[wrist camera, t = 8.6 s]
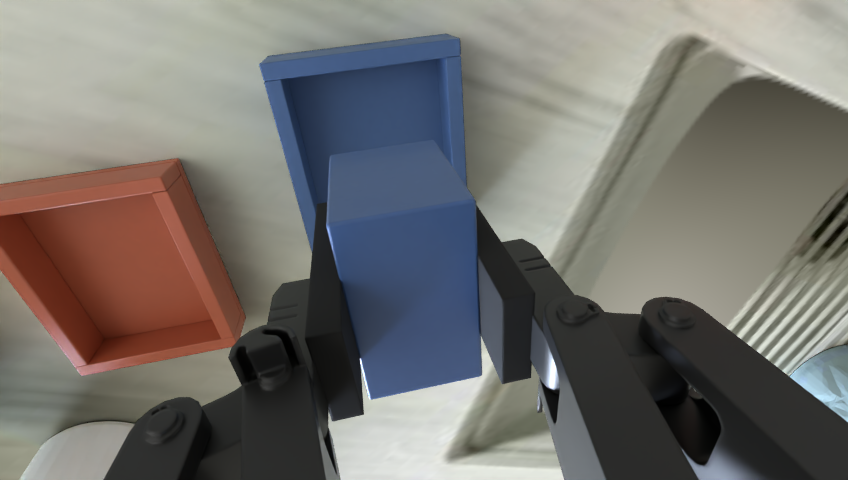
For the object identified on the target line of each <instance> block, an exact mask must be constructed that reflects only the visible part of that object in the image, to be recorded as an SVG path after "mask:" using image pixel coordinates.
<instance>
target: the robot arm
mask: <svg viewBox="0 0 848 480" xmlns="http://www.w3.org/2000/svg"><path fill="white" fill-rule="evenodd" d="M476 220H477V247H478V254H477V255H478V282H479V309H480V334H481V336H482V339H483V341H484V343H485V346H486V348H487V350H488V353H489V355H490V357H491V360H492V362H493V364H494V367H495V369H496V371H497V374H498V376H499V378H500V381H501V383H502V384H505V383H509V382H514V381H518V380H523V379H528V378H531V365H532V364H533V365H534V367H535V369H536V371H537V373H538V375H539V386H538V401H537V411H538V413H540V412H542V408H544V411H545V415H546V418H547V422H548V425H549V428H550V432H551V435H552V439H553V442H554V446H555V449H556V452H557V456H558V459H559V463H560V466H561V470H562V473H563V477H564V480H848V422H847V421H846V420H844V419H843V418H842V417H841V416H839V415H838V414H837V413H835V412H834V411H833V410H832V409H830V408H829V407H828V406H826V405H825V404H824V403H823V402H821V401H820V400H819V399H817V398H816V397H815V396H814V395H812V394H811V393H810V392H808V391H807V390H806V389H804V388H803V387H802V386H801V385H799V384H798V383H797V382H795V381H794V380H793V379H792V378H790V377H789V376H788V375H786V374H785V373H784V372H783V371H781V370H780V369H779V368H777V367H776V366H775V365H774V364H772V363H771V362H770V361H768V360H767V359H766V358H765V357H763V356H762V355H761V354H759V353H758V352H757V351H755V350H754V349H753V348H752V347H750V346H749V345H748V344H746V343H745V342H744V341H743V340H741V339H740V338H739V337H737V336H736V335H735V334H734V333H732V332H731V331H730V330H728V329H727V328H726V327H725V326H723V325H722V324H721V323H719V322H718V321H717V320H715V319H714V318H713V317H712V316H710V315H709V314H708V313H706V312H705V311H704V310H703V309H701V308H699V307H698V306H696V305H694V304H693V303H691V302H688V301H685V300H682V299H679V298H671V297H659V298H653V299H651V300H649V301H647V302H646V303H645V305H644V306H643V308H642V312H641V314H621V313H609V312H604V311H603V310H602V309H601V307H600V306H599V305H598V304H597V303H595V302H593V301H592V300H590V299H588V298H585V297H581V296H578V295H574V294H573V292H572V291H571V290H570V289H569V287H568V286H567V285H566V284H565V282H564V281H563V280H562V279H561V277H560V276H559V275H558V274H557V272H556V271H555V270H554V269H553V267H551V266H550V264H549V262H548V261H547V260H546V259H545V258H544V256H543V255H542V254H541V252H540V251H539V250H538V249H537V247H536V246H534V245H533V244H531V243H529V242H527V241H525V240H524V239H518V240H512V241H507V242H501V241H500V239H499V238H498V237H497V235H496V234H495V232H494V231H493V229H492V228H491V226H490V225H489V223H488V222H487V220H486V219H485V217H484V216H483V214H482V213H481V211H480V210H479V208H478V207H477V205H476ZM326 222H327V202H325V203H319V204H317V207H316V218H315V229H314V240H313V251H312V262H311V273H310V279H305V280H299V281H294V282H288V283H283V284H282V285H281V286H280V287H279V289H278V290H277V291H276V292H275V294H274V295H273V297H272V302H271V306H270V312H269V316H268V322H267V325H264V326H260V327H258V328H256V329H253V330H251V331H249V332H248V333H246V334H245V335H243V336H242V337H241V338H239V339H238V341H237V342H236V343H235V344H234V345H233V347H232V348H231V351H230V354H229V357H228V358H229V360H230V362H231V364H232V366H233V368H234V370H235V372H236V374H237V377H238V379H239V381H240V383H241V385H242V386H240V387H239V388H238V389H236V390H235V391H233V392H231V393H229V394H228V395H226V396H224V397H222V398H219V399H217V400H215V401H213V402H211V403H208V404H206V405H204V406H202V407H201V405H200V404H199V402H198V401H196V400H194V399H192V398H190V397H178V398H174V399H171V400H168V401H164V402H163V403H161V404H159V405H157V406H156V407H154V408H152V409H150V410H149V411H148V412H147V413H146V414H144V415H143V416H142V417H141V418H140V419H139V420H138V421H137V422H136V424H135V425H134V426H133V428H132V429H131V430H130V432H129V433H128V435H127V437H126V439H125V441H124V443H123V444H122V446H121V448H120V450H119V452H118V454H117V455H116V457H115V459H114V461H113V463H112V465H111V467H110V468H109V470H108V472H107V474H106V476H105V478H104V479H103V480H340V475H339V470H338V465H337V460H336V455H335V450H334V445H333V440H332V437H331V434H330V431H329V428H328V410H329V413H330V416H331V419H332V421H337V420H341V419H346V418H350V417H355V416H359V415H364V410H363V395H362V380H361V366H360V357H359V353H358V349H357V345H356V340H355V336H354V332H353V328H352V324H351V320H350V316H349V312H348V308H347V304H346V300H345V296H344V292H343V288H342V284H341V280H340V279H339V276H338V272H337V268H336V264H335V260H334V256H333V252H332V248H331V244H330V240H329V236H328V232H327V228H326Z"/></svg>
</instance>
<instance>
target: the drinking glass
mask: <svg viewBox="0 0 848 480" xmlns="http://www.w3.org/2000/svg"><path fill="white" fill-rule="evenodd" d="M790 378H792V379H793V380H794V381H795V382H797V383H798V384H799V385H801V386H802V387H803V388H804V389H806V390H807V391H808V392H810V393H811V394H812V395H814V396H815V397H816V398H817V399H819V400H820V401H821V402H823V403H824V404H825V405H826V406H828V407H829V408H830V409H832V410H833V411H834V412H835V413H837V414H838V415H839V416H841V417H842V418H843V419H844V420H846V421H847V422H848V345H842V346H837V347H834V348H831V349H828V350H826V351H824V352H821V353H820V354H818V355H816V356H814V357H813V358H811V359H809V360H808V361H806V362H805V363H804V364H803V365H801V366H800V367H799V368H798V369H797V370H796V371H794V372H793V374H792V375H791V376H790Z"/></svg>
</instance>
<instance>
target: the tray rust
mask: <svg viewBox="0 0 848 480" xmlns="http://www.w3.org/2000/svg"><path fill="white" fill-rule="evenodd" d="M0 270H1V271H2V273H3V274H4V275H5V277H6V278H7V279H8V280H9V282H10V283H11V284H12V286H13V287H14V288H15V290H16V291H17V292H18V293H19V295H20V296H21V297H22V299H23V300H24V301H25V303H26V304H27V305H28V306H29V308H30V309H31V310H32V312H33V313H34V314H35V316H36V317H37V318H38V319H39V321H40V322H41V323H42V325H43V326H44V327H45V329H46V330H47V331H48V332H49V334H50V335H51V336H52V338H53V339H54V340H55V342H56V343H57V344H58V345H59V347H60V348H61V349H62V351H63V352H64V353H65V355H66V356H67V357H68V358H69V360H70V361H71V362H72V364H73V365H74V366H75V368H76V370H77V371H78V372H79V373H80V375H81V376H84V375H89V374H94V373H99V372H104V371H110V370H115V369H120V368H125V367H130V366H135V365H140V364H146V363H151V362H156V361H161V360H166V359H171V358H177V357H182V356H187V355H192V354H197V353H202V352H207V351H213V350H218V349H223V348H228V347H233V345H234V344H235V343H236V342H237V341H238V339H239V338H240V336H241V332H242V329H243V325H244V321H245V318H246V317H245V314H244V312H243V310H242V307H241V305H240V303H239V300H238V298H237V295H236V293H235V291H234V288H233V286H232V284H231V281H230V279H229V276H228V274H227V272H226V269H225V267H224V265H223V262H222V260H221V257H220V255H219V253H218V250H217V248H216V246H215V243H214V241H213V239H212V236H211V234H210V231H209V229H208V227H207V224H206V222H205V220H204V217H203V215H202V212H201V210H200V208H199V205H198V203H197V201H196V198H195V196H194V194H193V191H192V189H191V186H190V184H189V182H188V179H187V177H186V175H185V172H184V170H183V167H182V165H181V163H180V160H179V159H178V158H177V159H170V160H163V161H156V162H149V163H143V164H136V165H129V166H122V167H115V168H108V169H102V170H95V171H88V172H81V173H74V174H68V175H61V176H54V177H47V178H40V179H34V180H27V181H20V182H13V183H6V184H0Z"/></svg>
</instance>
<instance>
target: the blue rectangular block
mask: <svg viewBox="0 0 848 480" xmlns="http://www.w3.org/2000/svg"><path fill="white" fill-rule="evenodd" d="M326 228H327V232H328V236H329V240H330V244H331V248H332V252H333V256H334V260H335V264H336V268H337V272H338V276H339V279H340V280H341V284H342V288H343V292H344V296H345V300H346V304H347V308H348V312H349V316H350V320H351V324H352V328H353V332H354V336H355V340H356V345H357V349H358V353H359V357H360V365H361V369H362V373H363V377H364V381H365V385H366V389H367V393H368V397H369V398H370V399H377V398H381V397H386V396H391V395H395V394H400V393H405V392H409V391H414V390H419V389H423V388H428V387H433V386H437V385H442V384H447V383H451V382H456V381H461V380H465V379H470V378H475V377H479V376H481V375H482V357H481V334H480V309H479V282H478V255H477V254H478V247H477V220H476V201H475V199H474V197H473V196H472V194H471V193H470V192H469V190H468V189H467V187H466V186H465V184H464V183H463V181H462V180H461V179H460V177H459V176H458V174H457V173H456V171H455V170H454V168H453V167H452V166H451V164H450V163H449V161H448V160H447V158H446V157H445V156H444V154H443V153H442V151H441V150H440V148H439V147H438V145H437V144H436V143H435V141H434V140H427V141H420V142H414V143H407V144H400V145H394V146H387V147H381V148H374V149H367V150H361V151H354V152H348V153H341V154H334V155H331V156H330V161H329V181H328V201H327V222H326Z"/></svg>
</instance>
